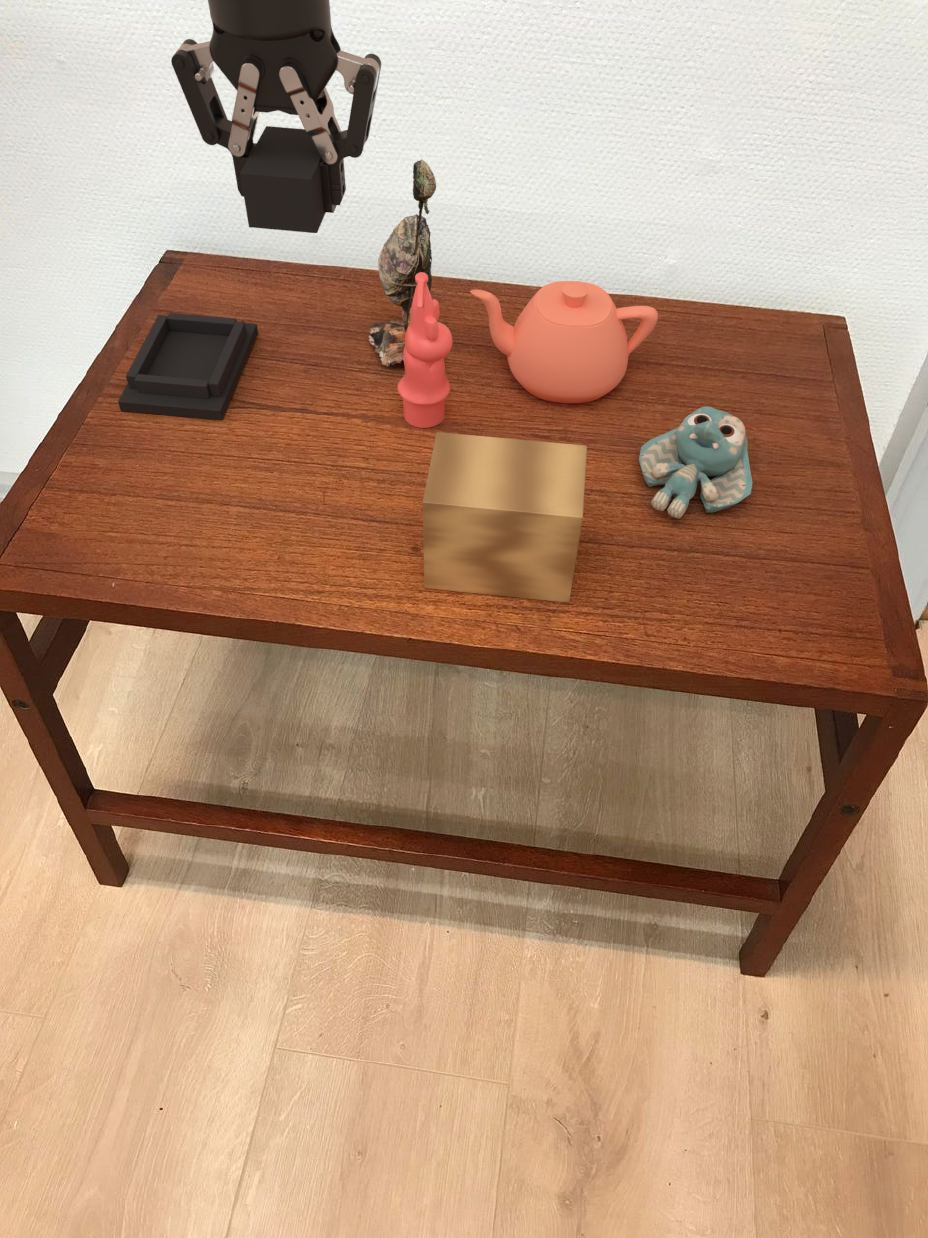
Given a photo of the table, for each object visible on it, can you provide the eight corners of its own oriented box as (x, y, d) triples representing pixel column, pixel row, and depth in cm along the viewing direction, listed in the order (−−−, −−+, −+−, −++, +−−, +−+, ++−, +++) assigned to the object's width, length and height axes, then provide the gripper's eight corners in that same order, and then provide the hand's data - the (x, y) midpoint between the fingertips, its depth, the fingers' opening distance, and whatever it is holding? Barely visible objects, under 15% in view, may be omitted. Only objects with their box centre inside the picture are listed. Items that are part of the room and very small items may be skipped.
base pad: (222, 420, 93) (217, 398, 91) (120, 411, 94) (113, 388, 92) (258, 333, 102) (254, 310, 100) (165, 325, 103) (159, 302, 100)
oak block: (424, 588, 81) (422, 502, 73) (437, 519, 86) (436, 431, 78) (569, 603, 80) (583, 517, 72) (573, 532, 85) (587, 445, 77)
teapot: (650, 413, 95) (668, 330, 88) (465, 406, 95) (467, 322, 88) (642, 338, 102) (657, 255, 95) (470, 331, 103) (472, 248, 95)
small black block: (317, 233, 70) (311, 178, 66) (248, 227, 70) (239, 172, 67) (337, 184, 74) (333, 130, 71) (273, 178, 74) (266, 125, 71)
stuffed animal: (612, 456, 83) (679, 364, 87) (608, 506, 89) (671, 417, 94) (728, 508, 79) (792, 409, 84) (716, 556, 86) (776, 462, 90)
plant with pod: (451, 310, 105) (452, 120, 89) (440, 376, 98) (439, 182, 82) (376, 305, 105) (364, 115, 90) (359, 370, 98) (344, 176, 83)
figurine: (451, 433, 93) (452, 294, 81) (396, 432, 93) (390, 292, 81) (452, 399, 96) (454, 259, 84) (400, 397, 96) (394, 258, 84)
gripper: (123, -54, 57) (183, 222, 70) (366, -37, 56) (380, 239, 69) (164, -96, 61) (214, 170, 75) (390, -81, 60) (399, 186, 74)
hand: (294, 202), depth 72 cm, fingers closed on small black block, 5 cm apart
